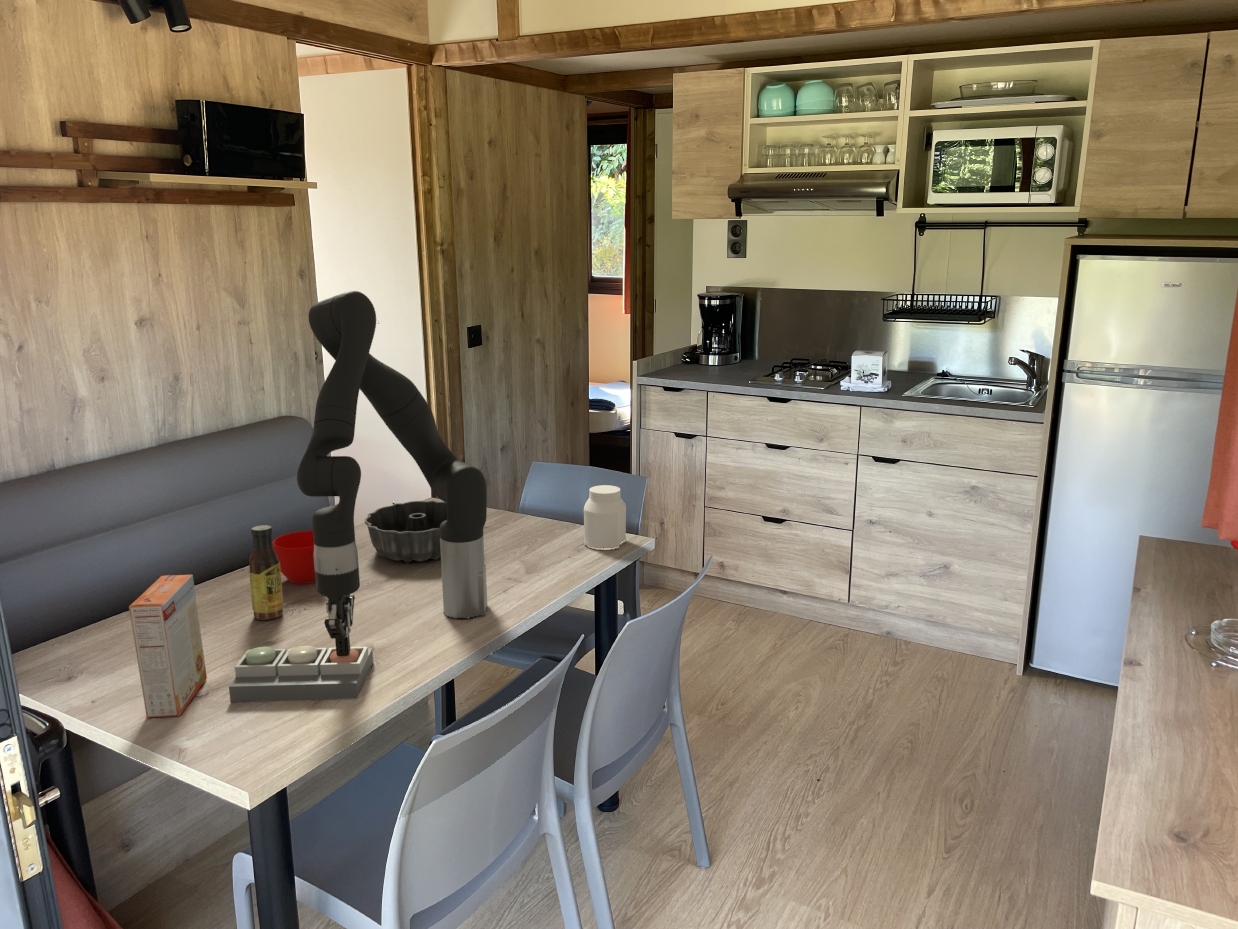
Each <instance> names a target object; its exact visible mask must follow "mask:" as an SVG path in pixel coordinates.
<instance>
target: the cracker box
mask: <svg viewBox="0 0 1238 929" xmlns="http://www.w3.org/2000/svg"><path fill="white" fill-rule="evenodd" d="M196 595H197V594H196V588H195V581H194V575H193V574H179V575H178V574H177V575H175V574H167V575H161V576H160V577H159V578H157V580H156V581H155V582H154V583H152V584H151V585H150V586H149V587H148V588H147V589H146V590H145V591H144V592H143V593H142V594H141V595H140V596H138V597H137V599H136V600H134V601H133V602H132V603H131V604H130V605H128V611H129V616H130V622H131V629H132V633H133V636H132V637H133V640H134V647H135V653H136V659H137V666H138V667H137V668H138V672H139V677H140V684H141V690H142V691H141V692H142V698H143V702H144V708H145V709H144V710H145V715H146V716H145V717H146V718H147V719H148V718H149V719H151V718H168V717H180V716H181V714H183V712H184V710H185V709H186V708H187V706H188V705H189V704H190V702H191V700H193V698H194V696H195V695H196V694H197V692H199V689H200V688H201V687H202V685H203V684H204V683H205V682H206V680H207V669H206V663H205V662H206V661H205V654H204V649H203V640H202V638H203V637H202V633H201V626H200V625H201V624H200V617H199V609H198V602H197V597H196ZM150 717H151V718H150Z"/></svg>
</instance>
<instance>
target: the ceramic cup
mask: <svg viewBox="0 0 1238 929" xmlns="http://www.w3.org/2000/svg"><path fill="white" fill-rule="evenodd" d="M272 544H273V548H274V550H275V553H276V555H277V557H278V559H279V561H280V569H281V575H283V576H284V577H285V578H286V579H288V580H289V581H290V582H291V583H292V584H295V585H305V584H306V585H307V584H311V583H315V582H316V578H315V567H314V537H313V530H303V531H302V530H301V531H294V532H289V533H285V534H282V535H280V536H278V537H276V538H275V539H274V540H272Z"/></svg>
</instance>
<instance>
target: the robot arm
mask: <svg viewBox="0 0 1238 929" xmlns="http://www.w3.org/2000/svg"><path fill="white" fill-rule="evenodd" d="M308 322H309V327H310V329H311V332H312V333H313V335H314V336H315V338H316V340H317V342H319V344H320V345H321V346H322V347H323V348H324V349H325V351H326V352H327V353H328V354H329V355H330V356H331V357H332V358H333V360H334V363H333V365H332V368H331V369H330V371H329V373H328V375H327V376H326V378H325V380H324V383H323V384H322V386H321V389H320V391H319V393H318V395H317V399H316V404H315V410H314V411H315V412H314V421H313V428H312V434H311V437H310V440H309V441H308V442H309V443H308V444H307V447H306V450H305V452H304V453H303V455H302V458H301V460H300V462H299V465H298V469H297V473H296V482H297V486H298V488H299V490H300V492H301V493H302V494H303V495H305V496H308V497H315V498H316V497H320V498H321V497H338V498H339V501H338V503H336V504H333V505H331V506H324V507H322V508H320V509H317V510H316V511H315V512H313V514H312V518H311V522H312V523H311V524H312V525H311V526H312V531H313V537H314V567H315V578H316V581H315V588H316V592H317V593H318V594H319V595H320V596H323V597H325V598H327V602H326V604H325V611H326V613H327V615H328V617H327V618H325V619H324V627H325V628H326V631H327V633H328V635H329V637H330V639H331V640H332V639H333V640H334V641H335V642H334V643H335V647H336V654H337V656H348V655H349V653H350V647H351V641H350V633H351V631H352V629H351V627H352V626H353V624H354V620H353V619H354V618H353V617H354V608H355V600H356V597H355V594H354V593H355V592H357V591H358V590H360V587H361V583H360V582H361V581H360V580H361V579H360V569H359V567H360V566H359V553H358V547H357V543H356V532H355V507H356V501H357V496H358V493H359V488H360V484H361V479H362V470H361V466H360V464H359V462H358V461H357V460H356V459H355V458H354V457H352V456H347V455H343V456H341V455H339V456H338V455H335V456H332V455H331V456H329V454H330V453H332V452H334V451H337V450H342V449H345V448H348V447H350V446H351V445H352V444H353V442H354V438H355V431H356V419H357V410H358V408H357V407H358V400H359V393H360V391H361V393H362V394H363V395H364V396H365V398H366V399H367V401H369V403H370V405H371V406H372V407H373V409H374V410H375V412H376V413H377V415H378V416H379V417H380V418H381V419H382V421H383V422H384V424H385V426H386V427H387V428H388V429H389V431H390V432H391V433H392V434H393V435H394V437H395V438H396V439H397V441H398V442H399V443H400V444H401V446H402V447H403V448H404V449H405V450H406V452H408V454H409V455H410V456H411V458H412V459H413V460H414V462H415V463H416V464H417V466H418V468H419V469H420V470H419V471H421V473H422V475H423V476H424V478H425V480H426V482H427V483H428V485H429V487H430V489H431V491H432V492H433V493H434V495H435V496H436V497H437V498H438V499H439V500H440V501H441V502H446V503H447V520H446V521H444V522H442V523H441V525H440V529H439V530H440V550H441V556H440V566H441V568H440V569H441V585H442V586H441V587H442V606H443V613H444V615H445V616H446V615H447V617H448V616H449V618H451V617H453V618H452V619H457V618H466V619H469V618H468V617H473V616H476V617H479V616H478V615H481V616H486V613H487V609H486V608H488V588H487V585H488V584H487V566H486V564H485V543H484V542H485V541H484V528H485V526H486V522H487V518H488V517H487V512H488V510H487V508H488V506H487V503H488V502H487V501H488V500H487V499H488V498H487V497H488V494H487V493H488V490H487V482H486V479H485V475H484V474H483V472H482V471H481V470H480V469H479V468H477V467H475V466H473V465H470V464H469V463H466V462H463V461H461V460H460V459H459V458H458V457H457V456H456V455H455V454H454V452H452V451H451V449H450V448H449V446H447V445H446V443H445V442H444V440H443V438H442V437H441V435H440V433H439V430H438V427H437V424H436V420H435V416H434V413H433V411H432V409H431V407H430V405H429V403H428V402H427V400H426V398H424V396H423V395H422V393H421V391H420V390H419V389H418V387H417V386H416V385H415V383H413V381H412V380H410V378H408V377H407V376H406V375H405V374H403V373H401V372H400V371H397V370H396V369H394V368H392V367H391V366H389V365H387V364H385V363H383V362H381V361H380V360H378V359H377V358H376V357H375V356H373V355H372V354H371V353H370V351H371V347H372V345H373V344H372V343H373V340H374V337H375V332H376V328H377V312H376V310H375V307H374V304H373V302H372V301H371V299H370V298H369V297H368V296H367V295H366V294H364V293H362V292H361V291H359V290H349V291H345V292H342V293H339V294H337V295H334V296H331V297H329V298H325V299H323V300H320V301H319V302H317V303H314V304H313V305H312V306H311V307H310V308H309V311H308ZM485 612H486V613H485ZM473 618H474V617H473Z"/></svg>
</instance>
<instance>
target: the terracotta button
mask: <svg viewBox="0 0 1238 929" xmlns="http://www.w3.org/2000/svg"><path fill="white" fill-rule="evenodd" d="M358 659H359V654H358V651H357V650H356V649H352V648H350V653H349V655H348V656H337V654H336V651H334V652H332V653H331V654H330V662H331V663H348V662H357V661H358Z"/></svg>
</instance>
